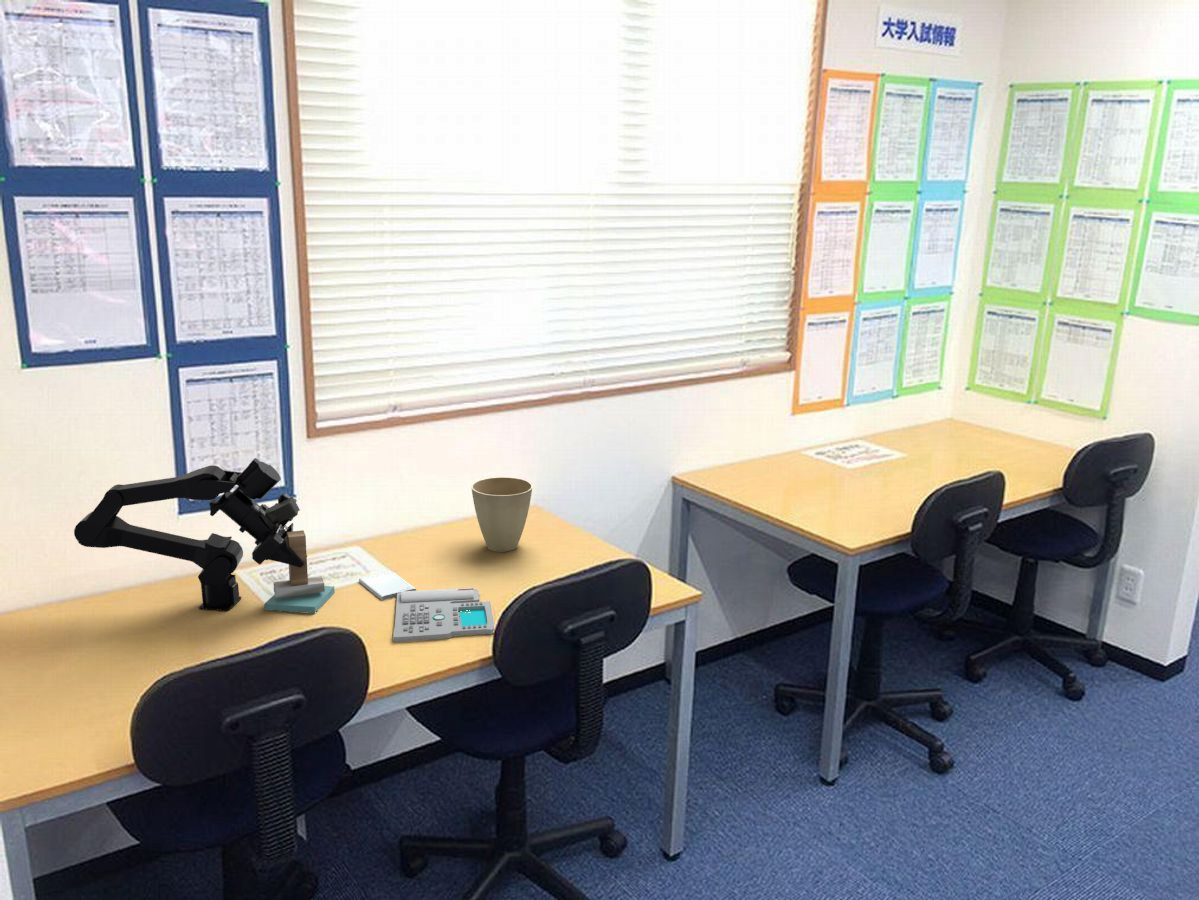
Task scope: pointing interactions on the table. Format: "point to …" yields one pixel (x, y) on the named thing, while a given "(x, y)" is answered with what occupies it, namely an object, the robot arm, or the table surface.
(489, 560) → the table surface
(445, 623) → the office telephone
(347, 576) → the table surface
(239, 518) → the robot arm
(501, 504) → the plant pot
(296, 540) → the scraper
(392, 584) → the hard drive
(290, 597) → the plate
